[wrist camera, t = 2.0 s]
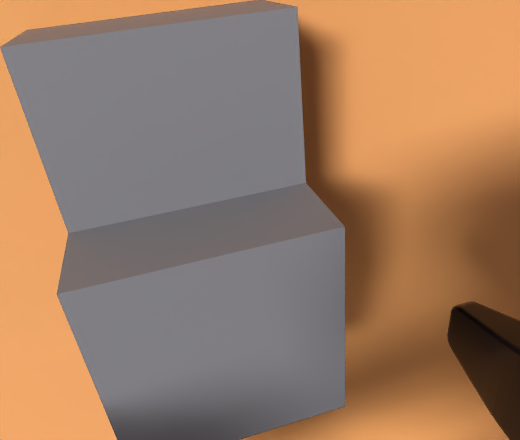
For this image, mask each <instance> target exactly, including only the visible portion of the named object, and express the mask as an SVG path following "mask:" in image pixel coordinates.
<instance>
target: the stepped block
mask: <svg viewBox="0 0 520 440" xmlns="http://www.w3.org/2000/svg"><path fill="white" fill-rule="evenodd" d="M0 49H1V51H2V54H3V57H4V59H5V62H6V65H7V68H8V70H9V73H10V76H11V78H12V81H13V84H14V87H15V89H16V92H17V95H18V98H19V100H20V103H21V106H22V108H23V111H24V114H25V117H26V119H27V122H28V125H29V127H30V130H31V133H32V136H33V138H34V141H35V144H36V146H37V149H38V152H39V155H40V157H41V160H42V163H43V165H44V168H45V171H46V174H47V176H48V179H49V182H50V185H51V187H52V190H53V193H54V195H55V198H56V201H57V204H58V206H59V209H60V212H61V214H62V217H63V220H64V223H65V225H66V228H67V231H68V238H67V243H66V249H65V254H64V259H63V264H62V270H61V275H60V280H59V285H58V291H57V296H58V299H59V301H60V303H61V306H62V308H63V311H64V313H65V315H66V318H67V320H68V322H69V325H70V327H71V330H72V332H73V334H74V337H75V339H76V342H77V344H78V346H79V349H80V351H81V354H82V356H83V358H84V361H85V363H86V366H87V368H88V370H89V373H90V375H91V378H92V380H93V382H94V385H95V387H96V390H97V392H98V394H99V397H100V399H101V402H102V404H103V406H104V409H105V411H106V414H107V416H108V418H109V421H110V423H111V426H112V428H113V430H114V433H115V435H116V438H117V440H240V439H243V438H246V437H249V436H252V435H256V434H259V433H262V432H265V431H268V430H271V429H275V428H278V427H281V426H284V425H287V424H291V423H294V422H297V421H300V420H303V419H306V418H310V417H313V416H316V415H319V414H322V413H326V412H329V411H332V410H335V409H338V408H341V407H345V226H344V225H343V224H342V223H341V222H340V220H339V219H338V218H337V217H336V216H335V215H334V214H333V213H332V211H331V210H330V209H329V208H328V207H327V206H326V205H325V204H324V202H323V201H322V200H321V199H320V198H319V197H318V196H317V195H316V193H315V192H314V191H313V190H312V189H311V188H310V187H309V186H308V184H307V183H306V172H305V151H304V131H303V111H302V90H301V70H300V49H299V29H298V9H297V7H295V6H290V5H285V4H280V3H275V2H270V1H265V0H254V1H247V2H239V3H231V4H224V5H216V6H208V7H201V8H193V9H185V10H178V11H170V12H162V13H155V14H147V15H139V16H132V17H124V18H116V19H109V20H101V21H93V22H86V23H78V24H70V25H62V26H55V27H47V28H39V29H32V30H26V31H25V32H23V33H21V34H20V35H18V36H17V37H15V38H14V39H12V40H10V41H9V42H7V43H6V44H4V45H3V46H1V47H0Z"/></svg>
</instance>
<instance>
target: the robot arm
mask: <svg viewBox="0 0 520 440" xmlns="http://www.w3.org/2000/svg"><path fill="white" fill-rule="evenodd" d="M448 342H449V345H450V347H451V349H452V351H453V352H454V354H455V356H456V357H457V359H458V361H459V362H460V364H461V366H462V367H463V369H464V371H465V372H466V374H467V375H468V377H469V379H470V380H471V382H472V384H473V385H474V387H475V389H476V390H477V392H478V394H479V395H480V397H481V399H482V400H483V402H484V404H485V405H486V407H487V408H488V410H489V412H490V413H491V415H492V416H493V417H494V419H495V420H496V422H497V423H498V425H499V426H500V427H501V429H502V430H503V431H504V433H505V434H506V435H507V437H508V438H509V439H510V440H520V321H519V320H516V319H514V318H512V317H509V316H507V315H504V314H502V313H500V312H497V311H495V310H493V309H490V308H488V307H486V306H483V305H481V304H479V303H476V302H466V303H463V304H459V305H456V306H454V307H453V308H452V310H451V315H450V322H449V328H448Z"/></svg>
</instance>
